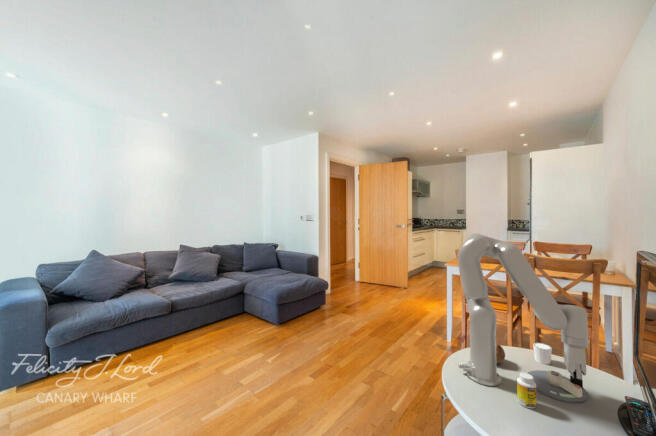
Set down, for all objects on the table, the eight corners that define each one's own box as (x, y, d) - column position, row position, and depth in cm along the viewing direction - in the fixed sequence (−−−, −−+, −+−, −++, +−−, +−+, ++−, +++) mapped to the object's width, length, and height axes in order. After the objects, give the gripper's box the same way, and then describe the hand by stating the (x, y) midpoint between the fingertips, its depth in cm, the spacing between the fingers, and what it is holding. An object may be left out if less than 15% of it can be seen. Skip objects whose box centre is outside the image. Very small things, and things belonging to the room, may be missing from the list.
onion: (502, 371, 119) (512, 356, 115) (480, 364, 121) (489, 349, 117) (496, 354, 127) (505, 339, 123) (475, 347, 129) (484, 333, 125)
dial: (540, 398, 97) (540, 394, 97) (518, 370, 114) (518, 367, 114) (600, 406, 92) (600, 402, 92) (568, 376, 110) (567, 372, 110)
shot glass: (556, 365, 117) (555, 350, 117) (538, 364, 119) (538, 349, 119) (546, 357, 124) (546, 343, 124) (530, 356, 125) (529, 341, 125)
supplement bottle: (528, 410, 91) (527, 381, 91) (513, 400, 97) (512, 372, 97) (540, 407, 92) (540, 379, 92) (525, 397, 98) (525, 370, 98)
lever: (543, 380, 105) (543, 370, 105) (553, 378, 106) (553, 368, 106) (575, 399, 94) (574, 387, 94) (585, 397, 95) (585, 385, 95)
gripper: (557, 329, 107) (559, 375, 107) (565, 345, 94) (567, 396, 94) (583, 333, 103) (585, 380, 102) (594, 350, 90) (596, 404, 90)
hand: (576, 388), depth 98 cm, fingers closed
